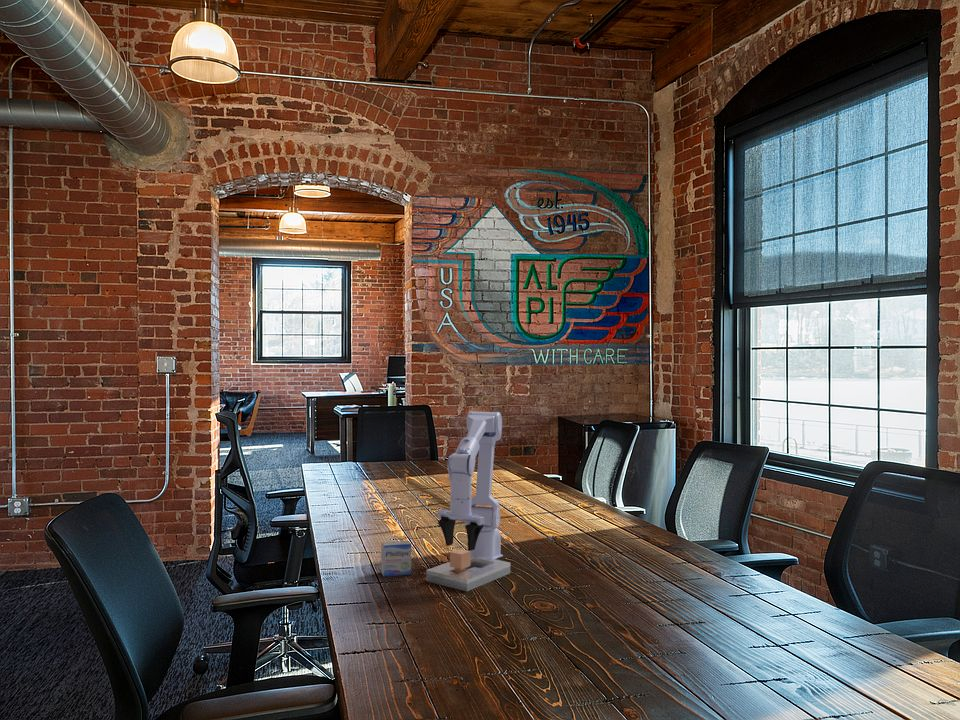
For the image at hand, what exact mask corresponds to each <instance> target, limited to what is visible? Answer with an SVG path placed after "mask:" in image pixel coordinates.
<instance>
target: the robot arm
mask: <svg viewBox="0 0 960 720" xmlns="http://www.w3.org/2000/svg"><path fill="white" fill-rule="evenodd" d="M465 423H466V429H467V433H466V436H464V437H463V438H461V440H460V442H459V444H458V446H457V448H456V450H455V452H454V453H452V454H450V455H449V456H448V459H447V464H446V466H447V472H448V481H449V483H450V489H449V490H450V491H449V492H450V493H449V496H450V497H449V500H450V503H449V506H450V507H449V509H439V510H437V518H439V520H438V521H437V523H438V525H439V527H440V529H441V532H442V534H443V538H444V541H445V546H446V547H449V546H452V545H454V532H455V531H454V530H455V525H456V521H460V522H464V523H465V525H464V528H465V530H466V531H465V532H466V535H467V549H468V550H467V551H471V554H473V555H477V556H482V557H486V558H491V559H496V560H498V559H500V558H502V557H504V555H503V554H501V550H502V549H501V546H502V544H501V542H502V541H501V540H502V537H501V535H502V534H501V532H500V529H498V527H499V526H500V522H501V511H500V510H501V509H500V508H501V505H500V503H499V501H497V499H496V498H494V497H493V495H492V490H493V475H494V460H495V447H496V443H497V442H498V441H500V440H501V438H502V431H503V416H502V414H501V413H500V412H499V411H472V410H470V411H469V412H467V415H466V422H465ZM477 456H478V457H477ZM476 458H477V461H476ZM476 462H477V471H476V472H477V473H476V485H475V486H476V487H475V496H473V497H472V482H473V481H472V477H473V476H472V475H473V474H474V472H475V466H476Z"/></svg>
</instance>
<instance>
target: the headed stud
mask: <svg viewBox="0 0 960 720" xmlns="http://www.w3.org/2000/svg"><path fill="white" fill-rule="evenodd" d="M449 562H450V567H454V568H455V573H460V572H462V571H465V568H466V567H469V566H470V564H471V551H469V550H465V549H461V548H458V549H454V550H451V551H450V552H449Z"/></svg>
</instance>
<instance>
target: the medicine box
mask: <svg viewBox="0 0 960 720" xmlns="http://www.w3.org/2000/svg"><path fill="white" fill-rule="evenodd" d="M380 545H381V546H380V548H381V549H380V550H381V553H380V554H381V556H380V557H381V560H380V561H381V562H380V563H381V566H380V567H381V568H380V571H381V572H380V573H381V574H382V576H383V577H385V576H388V577H396V576H398V575H399V576H400V577H401V576H409V575H412V544H411V542H410V540H402V541H401V540H400V541H385V542H384V541H382V542H381V544H380Z"/></svg>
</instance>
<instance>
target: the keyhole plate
mask: <svg viewBox="0 0 960 720" xmlns="http://www.w3.org/2000/svg"><path fill="white" fill-rule="evenodd" d="M509 574H511V562H510V561H509V562H508V561H504V560H499V559H491V558H486V557H482V556H477V555H473V554H471V564H470V566H469V567H466V568H465V571H462V572H460V573H455V568H454V567H450V561H448V562H445V563H442V564H440V565H436V566H433V567H432V568H428V569H426V570H425V581H426V582H428V583H432V584H435V585H441V586H444V587H448V588H452V589H456V590H460V591H463V592H469V591H471V590H475V589H476V588H479V587H482V586H484V585H487V584H488V583H490V582H493V581H495V580H499V579H500V578H503V577H504V576H507V575H509Z"/></svg>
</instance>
